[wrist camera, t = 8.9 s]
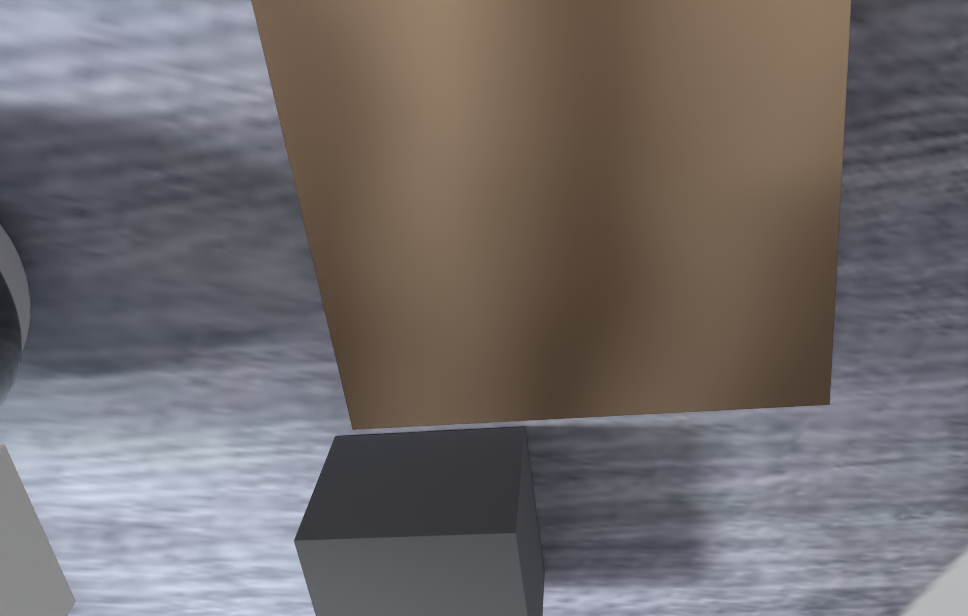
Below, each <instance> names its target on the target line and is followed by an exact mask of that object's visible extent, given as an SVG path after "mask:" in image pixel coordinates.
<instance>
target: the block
mask: <svg viewBox="0 0 968 616" xmlns="http://www.w3.org/2000/svg"><path fill="white" fill-rule="evenodd" d="M294 542H295V546H296V549H297V553H298V556H299V560H300V563H301V566H302V570H303V573H304V577H305V580H306V583H307V587H308V590H309V594H310V597H311V601H312V604H313V607H314V611H315V614H316V616H542V614H543V594H544V566H543V559H542V551H541V543H540V536H539V528H538V521H537V513H536V505H535V498H534V490H533V482H532V475H531V467H530V459H529V452H528V444H527V437H526V429H525V427H511V428H492V429H472V430H453V431H433V432H414V433H394V434H375V435H355V436H336V437H335V438H334V441H333V443H332V446H331V448H330V451H329V453H328V456H327V458H326V461H325V464H324V466H323V469H322V471H321V474H320V476H319V479H318V481H317V484H316V486H315V489H314V491H313V494H312V496H311V499H310V502H309V504H308V507H307V509H306V512H305V514H304V517H303V519H302V522H301V524H300V527H299V529H298V532H297V534H296V537H295V540H294Z"/></svg>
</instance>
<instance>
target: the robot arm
mask: <svg viewBox="0 0 968 616" xmlns="http://www.w3.org/2000/svg"><path fill="white" fill-rule="evenodd" d="M75 602H76V601H75V599H74V597H73V595H72V592H71V590H70V588H69V586H68V584H67V581H66V579H65V577H64V575H63V572H62V570H61V568H60V566H59V564H58V561H57V559H56V557H55V555H54V553H53V550H52V548H51V546H50V544H49V541H48V539H47V537H46V535H45V533H44V530H43V528H42V526H41V524H40V522H39V519H38V517H37V515H36V513H35V510H34V508H33V506H32V504H31V502H30V499H29V497H28V495H27V493H26V491H25V488H24V486H23V484H22V482H21V479H20V477H19V475H18V473H17V471H16V468H15V466H14V464H13V462H12V460H11V457H10V455H9V453H8V451H7V448H6V446H5V445H0V616H67V615H68V613H69V611H70V610H71V608H72V607H73V605H74V603H75Z"/></svg>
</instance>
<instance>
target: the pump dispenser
mask: <svg viewBox="0 0 968 616" xmlns="http://www.w3.org/2000/svg"><path fill="white" fill-rule="evenodd" d="M29 323H30V294H29V288H28V282H27V278H26V274H25V270H24V268H23V265H22V262H21V259H20V257H19V255H18V253H17V251H16V248H15V246H14V245H13V243H12V241H11V239H10V238H9V236H8V235H7V233H6V232H5V230H4V229H3V227H2V226H1V225H0V406H1V405H2V404H3V402H4V401H5V400H6V398H7V397H8V395H9V394H10V392H11V390H12V388H13V386H14V384H15V381H16V379H17V375H18V372H19V368H20V363H21V355H22V352H23V349H24V346H25V343H26V339H27V334H28V329H29Z"/></svg>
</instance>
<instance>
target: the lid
mask: <svg viewBox="0 0 968 616" xmlns="http://www.w3.org/2000/svg"><path fill="white" fill-rule="evenodd" d="M251 1H252V5H253V9H254V14H255V18H256V22H257V26H258V31H259V35H260V39H261V43H262V47H263V52H264V56H265V60H266V64H267V69H268V73H269V77H270V81H271V86H272V90H273V94H274V98H275V103H276V107H277V111H278V115H279V119H280V124H281V128H282V132H283V136H284V141H285V145H286V149H287V153H288V158H289V162H290V166H291V170H292V174H293V179H294V183H295V187H296V191H297V196H298V200H299V204H300V208H301V213H302V217H303V221H304V225H305V229H306V234H307V238H308V242H309V246H310V251H311V255H312V259H313V263H314V268H315V272H316V276H317V280H318V284H319V289H320V293H321V297H322V301H323V306H324V310H325V314H326V318H327V323H328V327H329V331H330V335H331V340H332V344H333V348H334V352H335V356H336V361H337V365H338V369H339V373H340V378H341V382H342V386H343V390H344V395H345V399H346V403H347V407H348V411H349V416H350V420H351V424H352V428H353V430H355V429H374V428H394V427H413V426H432V425H451V424H470V423H489V422H508V421H527V420H546V419H565V418H584V417H603V416H622V415H641V414H661V413H680V412H699V411H718V410H737V409H756V408H775V407H794V406H813V405H830V387H831V368H832V349H833V331H834V312H835V293H836V275H837V256H838V237H839V218H840V200H841V181H842V162H843V144H844V125H845V106H846V88H847V69H848V50H849V32H850V13H851V0H251Z"/></svg>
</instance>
